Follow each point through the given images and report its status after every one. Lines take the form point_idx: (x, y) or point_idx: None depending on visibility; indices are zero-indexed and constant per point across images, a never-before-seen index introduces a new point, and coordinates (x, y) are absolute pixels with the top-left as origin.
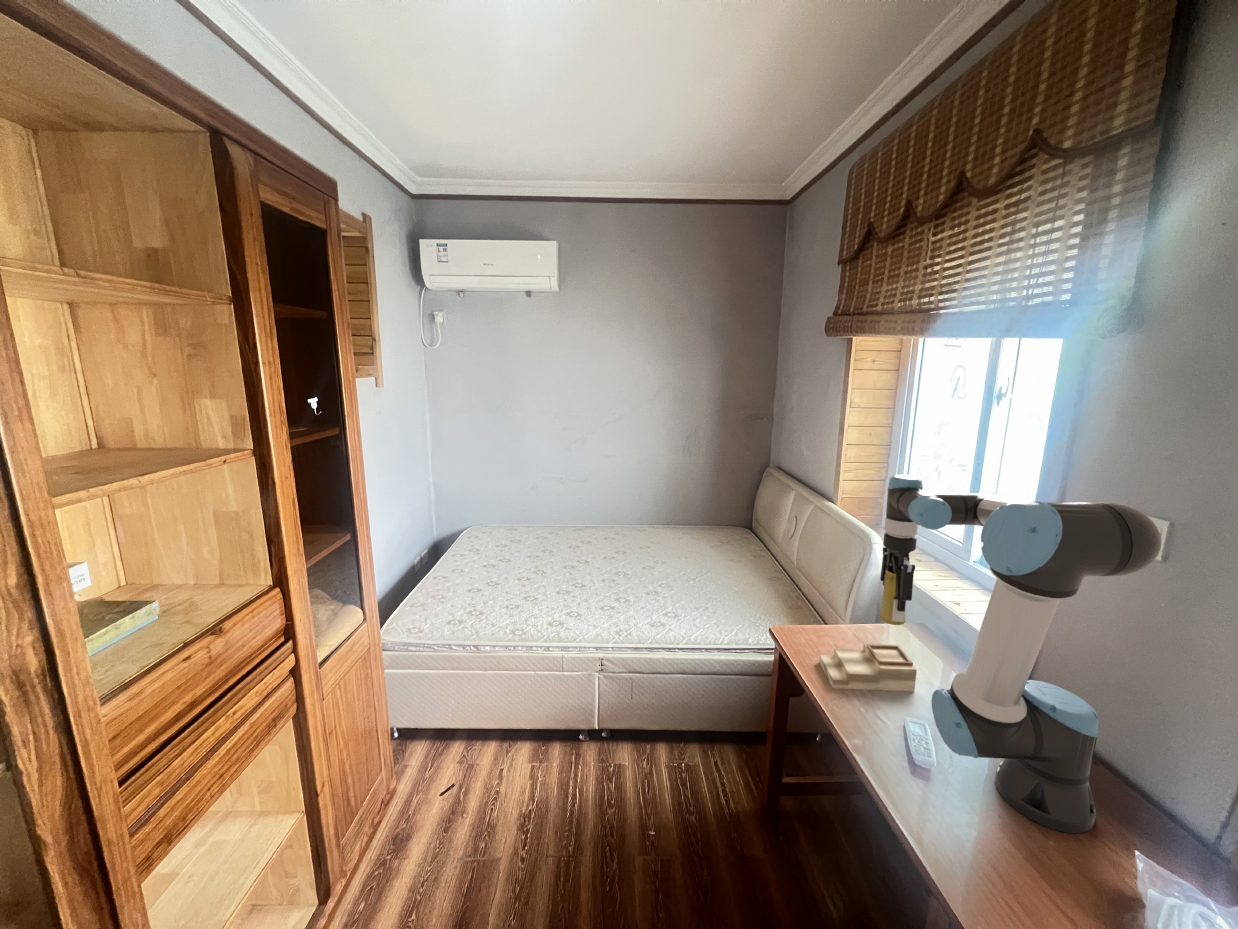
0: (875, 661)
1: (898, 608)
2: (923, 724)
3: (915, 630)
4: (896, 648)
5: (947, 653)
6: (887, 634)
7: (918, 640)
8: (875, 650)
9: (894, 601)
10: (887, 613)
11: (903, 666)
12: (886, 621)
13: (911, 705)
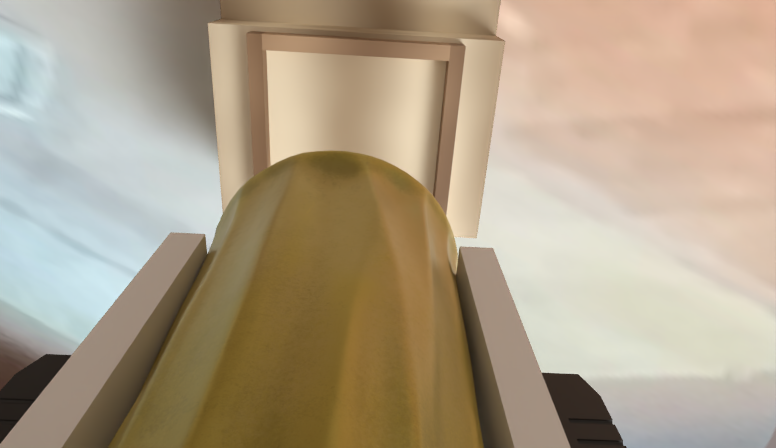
0: (297, 28)
1: (40, 384)
2: (17, 101)
3: (718, 400)
4: None
5: None
6: (720, 279)
7: (641, 375)
8: (418, 85)
9: (45, 424)
10: (243, 229)
11: (247, 172)
12: (254, 180)
13: (147, 115)
